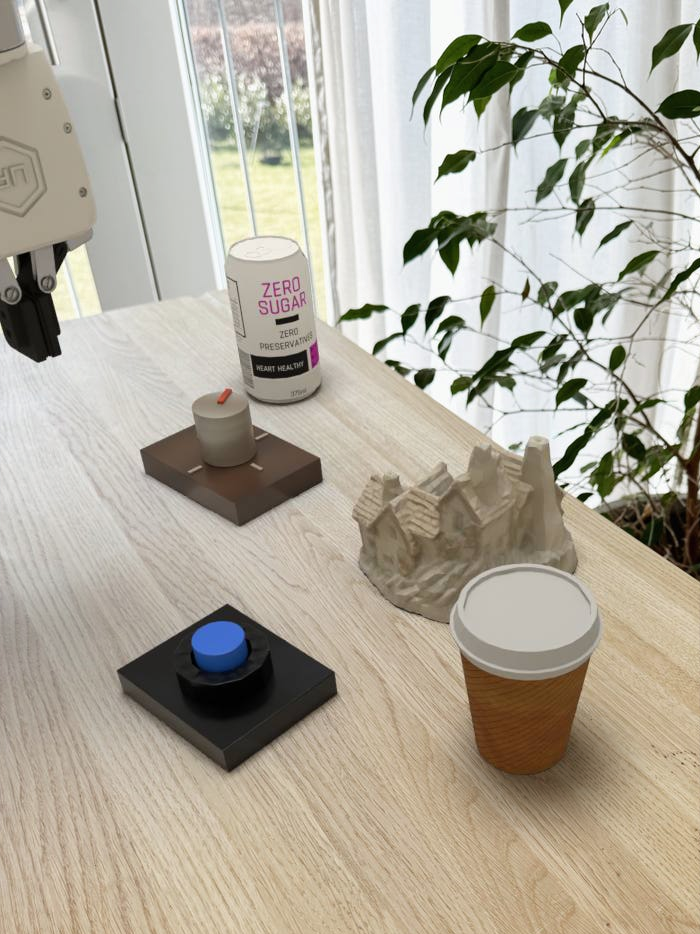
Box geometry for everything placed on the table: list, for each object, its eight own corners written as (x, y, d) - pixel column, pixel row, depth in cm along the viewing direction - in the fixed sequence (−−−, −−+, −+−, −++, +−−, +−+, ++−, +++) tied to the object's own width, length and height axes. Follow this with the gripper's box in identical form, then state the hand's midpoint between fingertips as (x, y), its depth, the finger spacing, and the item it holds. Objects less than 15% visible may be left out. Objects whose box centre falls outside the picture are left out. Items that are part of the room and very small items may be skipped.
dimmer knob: (246, 469, 91) (236, 416, 88) (193, 464, 92) (182, 412, 88) (263, 441, 95) (255, 390, 91) (213, 437, 95) (203, 386, 92)
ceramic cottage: (604, 564, 84) (605, 399, 74) (456, 657, 76) (436, 487, 67) (481, 498, 93) (468, 344, 84) (337, 575, 86) (305, 415, 76)
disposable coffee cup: (424, 734, 70) (417, 599, 62) (526, 674, 74) (532, 541, 66) (515, 817, 64) (520, 680, 56) (619, 746, 69) (638, 611, 61)
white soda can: (278, 364, 113) (258, 227, 103) (337, 382, 109) (322, 242, 100) (229, 394, 107) (203, 252, 98) (289, 413, 104) (269, 269, 94)
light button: (185, 658, 70) (180, 639, 69) (226, 632, 72) (222, 614, 71) (217, 681, 68) (213, 662, 67) (258, 654, 71) (255, 635, 69)
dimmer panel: (145, 472, 95) (138, 448, 94) (228, 432, 101) (223, 408, 99) (239, 527, 89) (235, 501, 87) (323, 480, 94) (320, 456, 93)
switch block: (123, 692, 73) (109, 651, 70) (231, 624, 79) (223, 584, 76) (228, 773, 67) (218, 731, 64) (338, 693, 73) (332, 652, 70)
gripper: (-170, 58, 46) (-43, 414, 59) (110, 16, 55) (170, 334, 67) (-238, 32, 50) (-105, 372, 62) (36, -4, 59) (105, 301, 71)
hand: (38, 352), depth 65 cm, fingers closed
